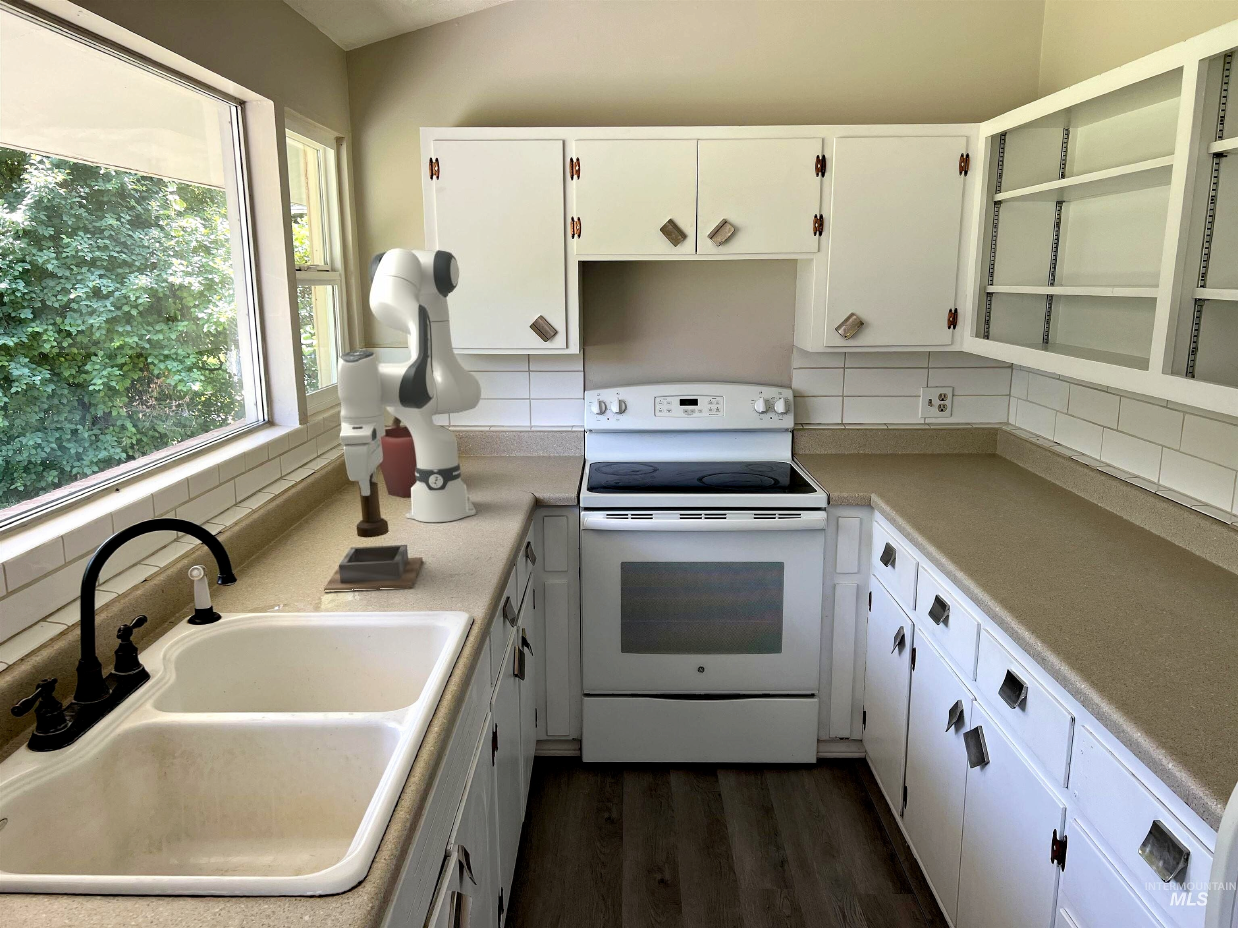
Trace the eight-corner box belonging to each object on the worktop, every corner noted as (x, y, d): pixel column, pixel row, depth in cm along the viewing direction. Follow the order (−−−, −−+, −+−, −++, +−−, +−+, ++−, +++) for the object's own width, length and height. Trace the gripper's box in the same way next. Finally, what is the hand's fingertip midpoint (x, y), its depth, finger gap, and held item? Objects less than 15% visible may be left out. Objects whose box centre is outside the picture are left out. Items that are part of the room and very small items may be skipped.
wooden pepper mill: (376, 527, 196) (369, 448, 192) (394, 532, 192) (387, 451, 188) (351, 534, 191) (343, 453, 187) (369, 539, 187) (361, 457, 183)
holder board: (342, 565, 201) (341, 544, 200) (422, 561, 202) (421, 540, 201) (324, 592, 183) (321, 570, 182) (411, 588, 185) (410, 565, 184)
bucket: (461, 495, 263) (456, 412, 257) (386, 505, 253) (379, 419, 248) (440, 479, 284) (435, 402, 279) (371, 487, 275) (364, 408, 270)
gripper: (357, 421, 196) (363, 481, 199) (337, 437, 176) (343, 504, 179) (386, 419, 196) (391, 480, 199) (369, 436, 177) (375, 503, 180)
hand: (368, 491), depth 189 cm, fingers closed on wooden pepper mill, 4 cm apart
